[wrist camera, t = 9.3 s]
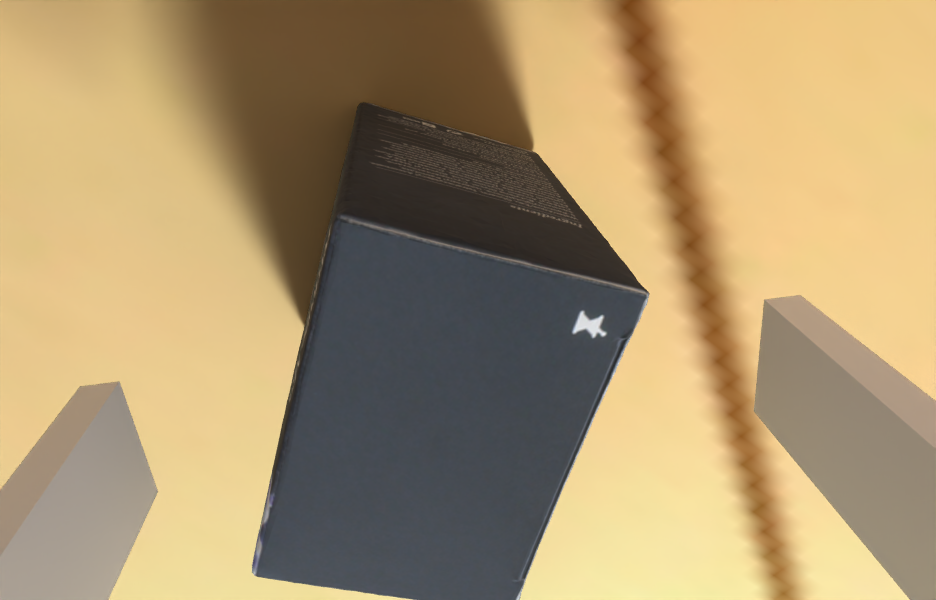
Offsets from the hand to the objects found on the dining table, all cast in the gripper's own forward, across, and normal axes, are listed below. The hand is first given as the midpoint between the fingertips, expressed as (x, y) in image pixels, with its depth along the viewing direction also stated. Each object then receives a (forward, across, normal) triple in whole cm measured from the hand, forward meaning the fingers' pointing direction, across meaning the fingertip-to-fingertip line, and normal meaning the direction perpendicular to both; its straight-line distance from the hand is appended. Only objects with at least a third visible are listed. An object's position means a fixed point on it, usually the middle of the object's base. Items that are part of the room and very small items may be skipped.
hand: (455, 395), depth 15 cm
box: (+9, -1, 0) cm, 9 cm away
